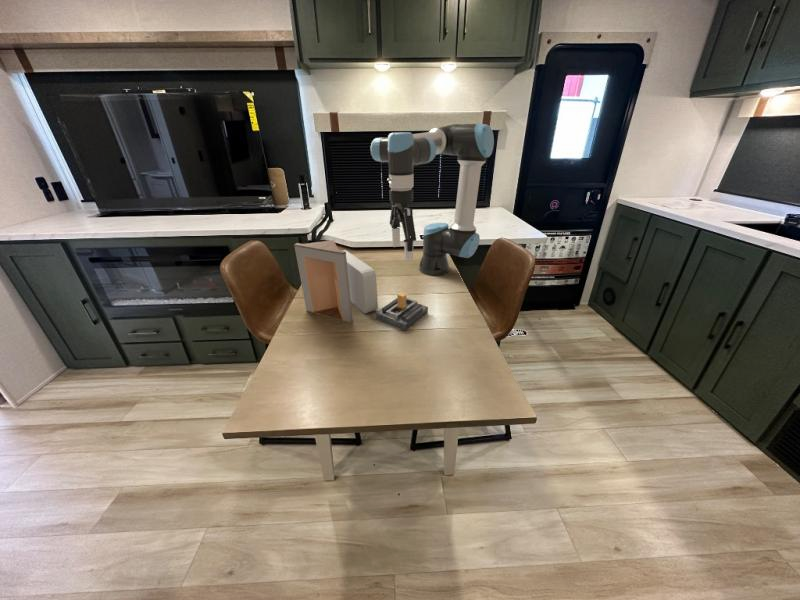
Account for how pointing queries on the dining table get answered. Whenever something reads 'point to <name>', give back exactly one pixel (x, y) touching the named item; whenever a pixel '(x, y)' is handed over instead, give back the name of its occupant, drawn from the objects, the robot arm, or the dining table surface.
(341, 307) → the cabinet
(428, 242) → the robot arm
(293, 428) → the dining table surface
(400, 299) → the breaker lever
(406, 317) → the grey slider track plate
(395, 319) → the frame
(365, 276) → the rounded white slab
